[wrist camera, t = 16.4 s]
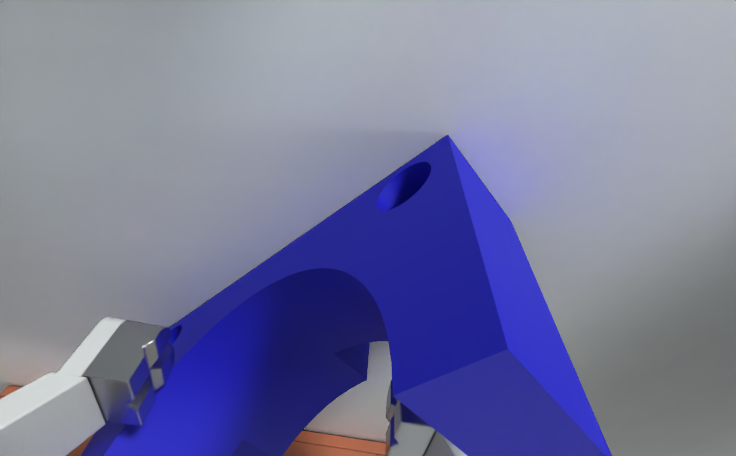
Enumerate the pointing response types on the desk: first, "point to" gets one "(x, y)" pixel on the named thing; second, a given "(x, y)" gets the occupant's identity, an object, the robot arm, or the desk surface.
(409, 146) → the desk surface
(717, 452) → the desk surface
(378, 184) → the cable clip
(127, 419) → the robot arm
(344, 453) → the clay tray
